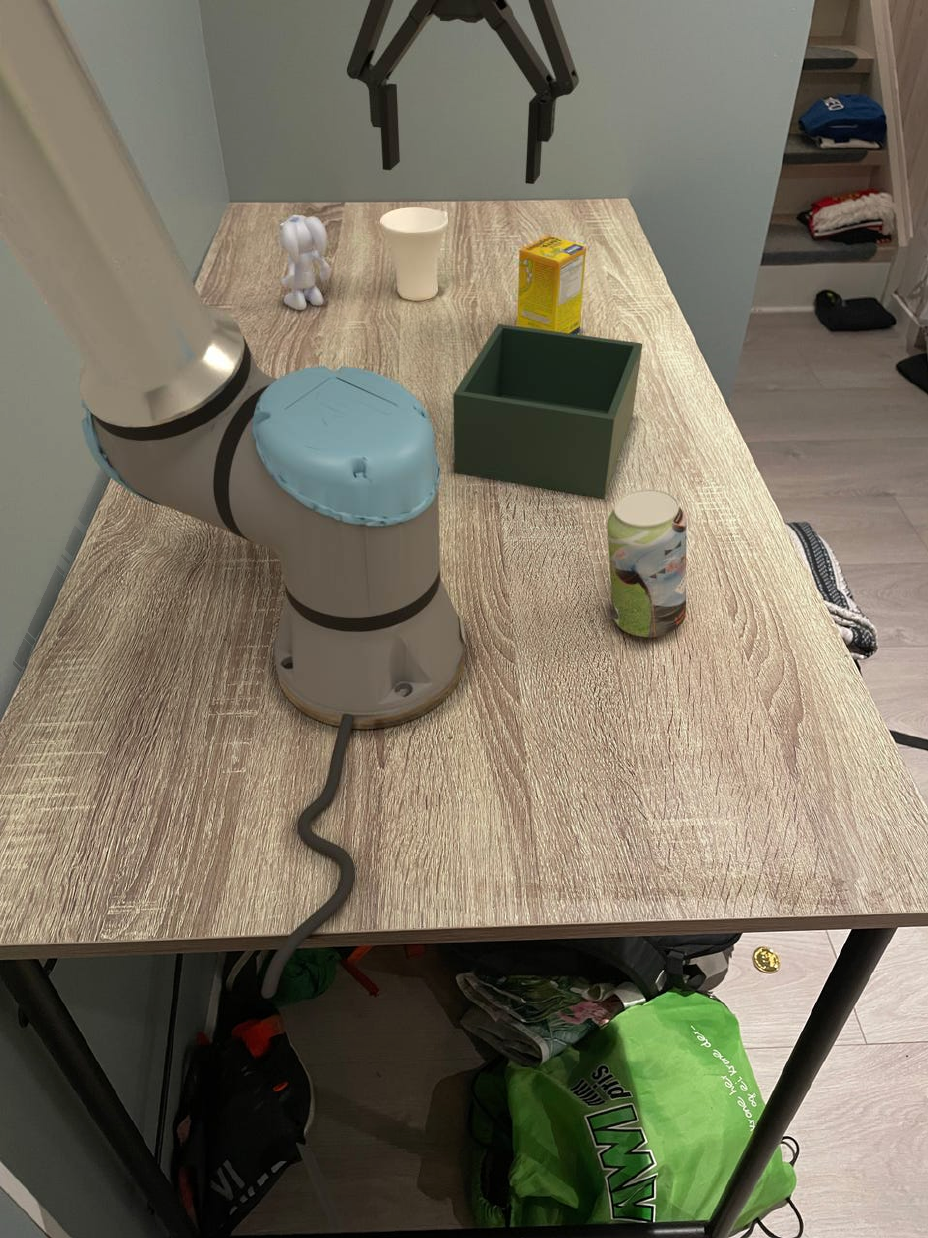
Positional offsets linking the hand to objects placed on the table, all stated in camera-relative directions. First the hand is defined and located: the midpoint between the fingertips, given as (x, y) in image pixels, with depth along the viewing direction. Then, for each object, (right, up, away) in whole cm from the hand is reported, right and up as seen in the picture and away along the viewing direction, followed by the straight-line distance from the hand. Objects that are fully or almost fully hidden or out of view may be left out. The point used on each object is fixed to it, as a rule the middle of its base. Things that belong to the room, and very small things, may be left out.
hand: (460, 172), depth 84 cm
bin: (+9, -23, +13) cm, 28 cm away
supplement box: (+11, -5, +31) cm, 34 cm away
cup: (-6, +4, +41) cm, 41 cm away
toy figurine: (-21, +1, +38) cm, 44 cm away
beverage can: (+15, -41, -7) cm, 45 cm away
